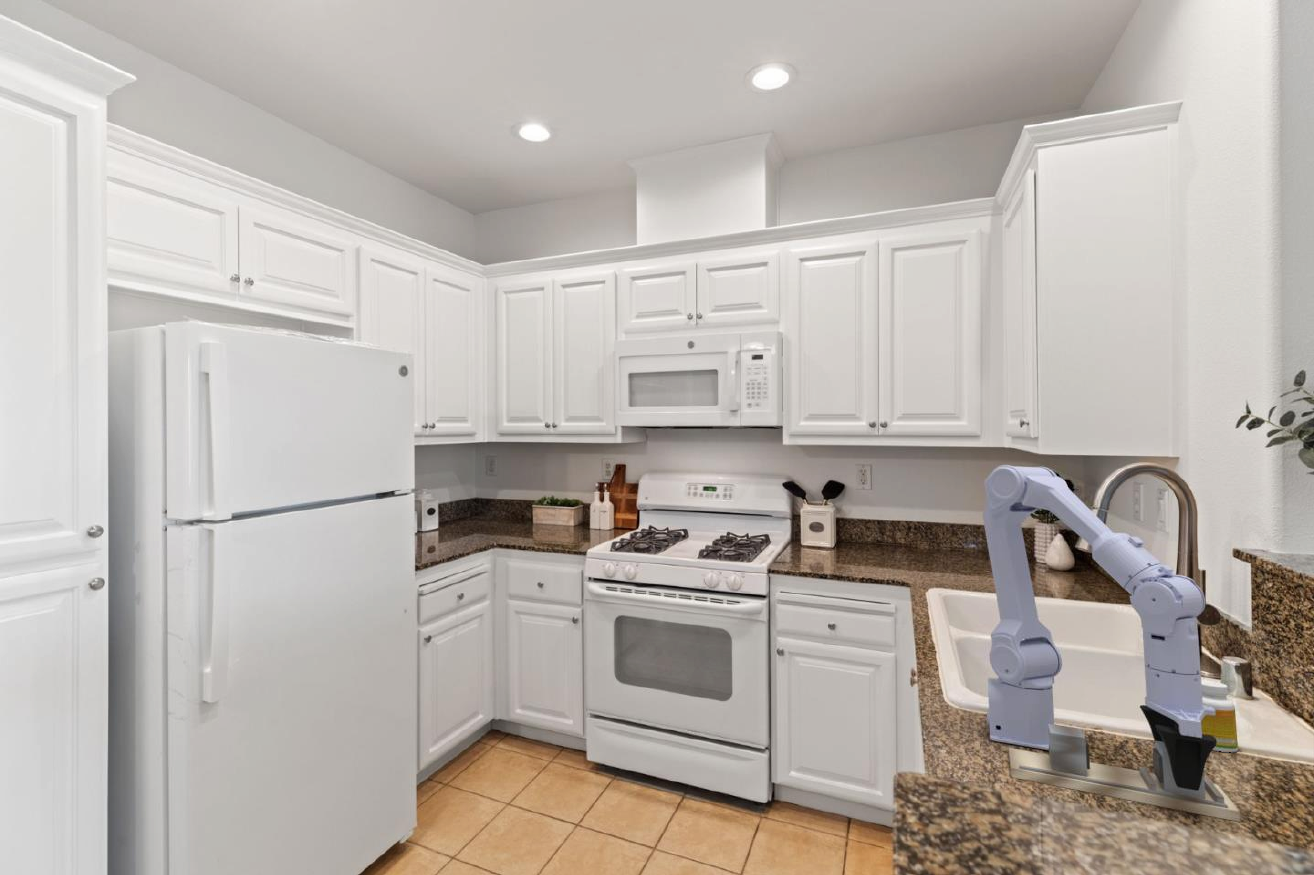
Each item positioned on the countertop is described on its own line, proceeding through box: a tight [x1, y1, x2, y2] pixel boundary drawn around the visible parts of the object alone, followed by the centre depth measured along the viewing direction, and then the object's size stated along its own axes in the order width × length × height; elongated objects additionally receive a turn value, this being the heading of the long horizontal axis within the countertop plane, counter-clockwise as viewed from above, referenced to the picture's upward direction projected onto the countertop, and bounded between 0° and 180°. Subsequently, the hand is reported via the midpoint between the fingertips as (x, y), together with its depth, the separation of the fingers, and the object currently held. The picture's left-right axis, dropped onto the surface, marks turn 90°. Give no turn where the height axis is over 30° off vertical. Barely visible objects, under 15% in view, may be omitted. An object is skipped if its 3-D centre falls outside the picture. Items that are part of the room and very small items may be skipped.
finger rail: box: [1008, 724, 1242, 823], centre depth 83 cm, size 24×8×6 cm, turn 62°
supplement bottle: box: [1201, 679, 1239, 753], centre depth 98 cm, size 5×5×10 cm
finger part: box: [1151, 741, 1205, 799], centre depth 80 cm, size 4×4×5 cm
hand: (1178, 776), depth 80 cm, fingers open, 7 cm apart
